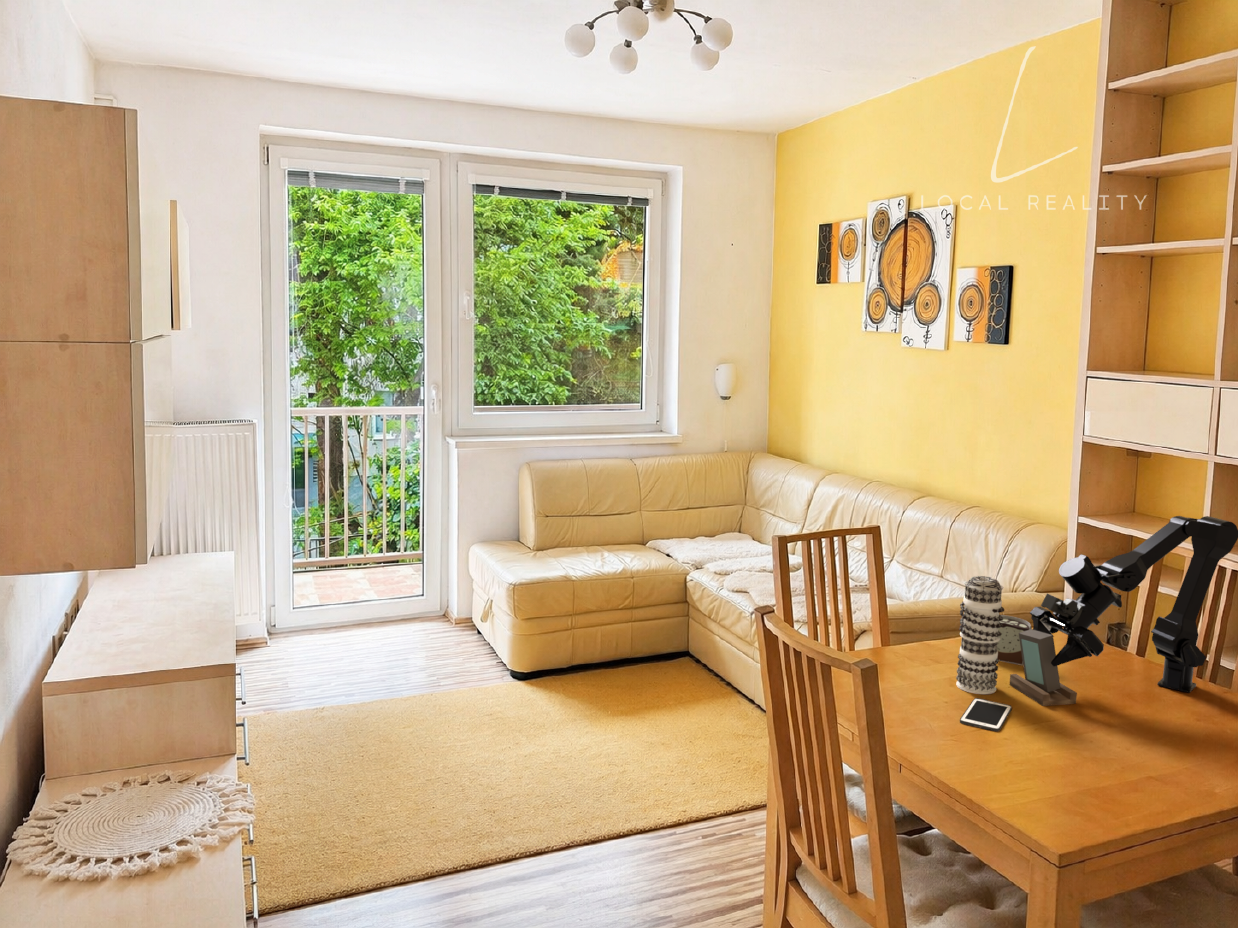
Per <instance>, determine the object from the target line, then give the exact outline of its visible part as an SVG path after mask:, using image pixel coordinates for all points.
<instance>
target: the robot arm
mask: <svg viewBox="0 0 1238 928" xmlns="http://www.w3.org/2000/svg"><path fill="white" fill-rule="evenodd" d="M1190 537H1191V538H1190ZM1188 538H1190V540H1191V545H1192V551H1193V554H1192V557H1191V560H1190V562H1189V565H1188V568H1187V570H1186V573H1185V575H1184V578H1183V581H1182V583H1181V586H1180V588H1179V591H1178V594H1177V597H1176V599H1175V601H1174V603H1173V606H1172V610H1171V611H1170V612H1169V613H1168V614H1166V616H1165V617H1162V616H1158V617H1157V618H1156V620H1155V625H1154V627H1153V628H1152V629H1151V631H1150V632H1151V633H1152V636H1151V641H1152V642H1153V645H1154V646H1155V651H1156V654H1158V655H1159V656H1162V657H1164V662H1163V663H1164V664H1163V673H1162V678H1161V679H1160V680H1159V681H1158V682H1157V686H1160V687H1162V688H1163V687H1164V688H1166V689H1167V688H1168V689H1171V690H1176V691H1180V692H1185V693H1191V692H1192V691H1193V690H1194V689H1195V688H1196V687H1197V683H1196V682H1193V678H1194V677H1193V675H1194V668H1198V667H1203V666H1204V663H1205V662H1206V659H1207V656H1206V655H1205V654H1204V652H1202V650H1201V649H1200V648H1199V647H1198V645H1197V643H1198V640H1199V631H1198V625H1197V619H1198V616H1199V613H1200V611H1201V609H1202V605H1203V602H1204V600H1205V597H1206V595H1207V592H1208V589H1209V587H1210V584H1211V582H1212V579H1213V577H1214V575H1215V571H1216V569H1217V566H1218V563H1219V562H1220V561H1221V560H1222V559H1223V558H1224V557H1225V556H1227V555H1228V554H1230V552H1232V551H1233V548H1234V547H1235V544H1236V543H1237V541H1238V526H1237V525H1236V524H1235V523H1234V522H1233V521H1229V520H1225V519H1222V518H1221V519H1220V518H1218V517H1213V516H1202V517H1201V518H1193V517H1188V516H1182V515H1176V516H1172V517H1171V518H1170V519H1169V521H1168V522H1167V524H1165V525H1164V526H1162V527H1161V528H1160V529H1158V530H1157V531H1156V532H1155V533H1153V534H1152V535H1150V536H1149V537H1148V538H1147V539H1146V540H1144V541H1143V542H1142V543H1140V544H1139V545H1138V546H1137V547H1135V548H1134V549H1133V550H1130V551H1129V552H1126V553H1122V554H1119V555H1116V556H1114V557H1112V558H1110V559H1107V560H1106V561H1105V562H1103V563H1102V564H1100V565H1094V563H1092V560H1091V559H1090V558H1089V556H1088V555H1085V554H1082V553H1081V554H1080V555H1079V556H1078V557H1072V558H1070V559H1068V560H1067V561H1064V562H1063V563H1062V564H1061V565H1060V566H1059V569H1058V573H1059V575H1060V576H1061V578H1062V579H1063V580H1064V581H1065V582H1066V583H1067V585H1068V586H1069V587H1070V588H1071V589H1072V590H1073V591H1074V593H1076V594H1080V595H1079V596H1078V597H1077V598H1076V599H1072V598H1069V597H1068V598H1065V599H1064V600H1063V599H1061V598H1059V597H1056V596H1054V595H1052V594H1050V593H1046V595H1045V597H1044V598H1043V601H1042V603H1041V604H1040V606H1034V607H1033V609H1032V610H1030V612H1029V614H1030V615H1031V621H1032V622H1033V625H1032V626H1033V627H1032V630H1036V631H1040V632H1043V633H1047V634H1051V635H1053V638H1054V637H1055V636H1054V634H1056V633H1058V632H1061V633H1062V634H1065V635H1067V638H1066V639H1067V640H1066V642H1065V645H1064V646H1063V647H1062V648H1061V649H1060V650H1059V652H1058V653H1057V654H1056V656H1055V657H1054V659H1053V660H1052V661H1051V664H1052V666H1061V665H1064V664H1066V663H1069V662H1072V661H1075V660H1079V659H1083V658H1086V657H1089V658H1090V657H1093V656H1095V657H1099V656H1100V655H1101V654H1102V653H1103V652H1104V649H1105V648H1104V647H1105V644H1104V643H1103V642H1102V641H1101V640H1100V638H1099V637H1098V636H1097V635H1096V634H1095V633H1094V632H1093V631H1092V630H1091V629H1089V628H1090V626H1092V625H1095V626H1098V625H1099V624H1100V622H1101V621H1100V620H1099V619H1098V618H1100V616H1102V614H1103V613H1104V612H1105V611H1106V610H1107V609H1108V608H1109V607H1110V606H1115V607H1117V608H1119V609H1120V608H1122V607H1123V603H1122V594H1120V593H1117V592H1114V591H1113V590H1112V589H1111V588H1114V589H1116V590H1118V591H1121V592H1124V593H1125V592H1126V593H1131V592H1132V591H1134V590H1135V589H1136V588H1137V587H1138V586H1139V585H1140V584H1141V583H1142V582H1143V581H1144V580H1145V578H1146V577H1147V573H1148V571H1149V569H1151V567H1152V566H1154V565H1155V564H1156V563H1158V562H1159V561H1160V560H1162V559H1163V558H1164V557H1165V556H1166V555H1168V554H1170V553H1171V552H1172V551H1173V550H1175V549H1176V548H1177V547H1179V545H1181V544H1182V543H1184V542H1185V541H1186V540H1187V539H1188Z"/></svg>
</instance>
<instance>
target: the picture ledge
mask: <svg viewBox="0 0 1238 928" xmlns="http://www.w3.org/2000/svg"><path fill="white" fill-rule="evenodd" d="M1009 685H1010V687H1011V688H1014V689H1015V690H1016V691H1018V692H1020V693H1022V694H1023V695H1025V696H1026V697H1028V698H1029V699H1031V700H1033V702H1035V703H1037V704H1039V705H1041V706H1042V707H1046V706H1047V707H1048V706H1060V705H1063V706H1064V705H1075V704H1077V696H1078V692H1077V691H1076V690H1073V689H1072V688H1070V687H1068V686H1066V685H1064V684H1063V683H1061V682H1060V687H1061V688H1060V689H1057V690H1054V691H1051V692H1045V691H1044V690H1042V689H1040V688H1039V687H1037V686H1035V685H1034V684H1032V683H1030V682H1029V681H1027V680H1025V677H1022V676H1020V675H1019V674H1018V673H1011V674H1009Z"/></svg>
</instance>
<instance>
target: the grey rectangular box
mask: <svg viewBox="0 0 1238 928" xmlns="http://www.w3.org/2000/svg"><path fill="white" fill-rule="evenodd" d="M1053 636H1054V634H1052V635H1051V634H1047V633H1043V632H1040V631H1036V630H1033V628H1032V629H1030V630H1027V631H1024V632H1021V633H1019V640H1020V647H1021V653H1022V660H1023V666H1022V667H1023V672H1024V679H1025V680H1027V681H1029V682H1030V683H1032V684H1034V685H1035V686H1037V687H1039V688H1040V689H1042V690H1044V691H1045V692H1051V691H1054V690H1057V689H1060V688H1061V687H1060V683H1061V682H1060V675H1059V668H1058V666H1059V665H1058V666H1052V664H1051V661H1052V660H1053V659H1054V657H1055V656H1056V655H1057V654H1056V649H1055V648H1056V647H1055V641H1054V637H1053Z"/></svg>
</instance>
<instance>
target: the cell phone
mask: <svg viewBox="0 0 1238 928" xmlns="http://www.w3.org/2000/svg"><path fill="white" fill-rule="evenodd" d="M1012 709H1013V707H1012V705H1011V704H1007V703H1003V702H998V701H994V700H993V701H992V700H989V699H984V698H979V697H975V698H973V699H972V701H971V702H970V704H969V705H968V706H967V708H966V710H965V711H964V712H963V714H962V716H961V717H960V719H959V723H960V724H962V725H965V726H970V727H972V728H973V727H974V728H975V727H976V728H979V729H982V730H986V731H990V732H997V733H998V732H1000V731H1001V729H1002V728H1003V726H1004V724H1005V722H1006V721H1007V719H1008V717H1009V715H1010V713H1011V711H1012Z"/></svg>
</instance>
